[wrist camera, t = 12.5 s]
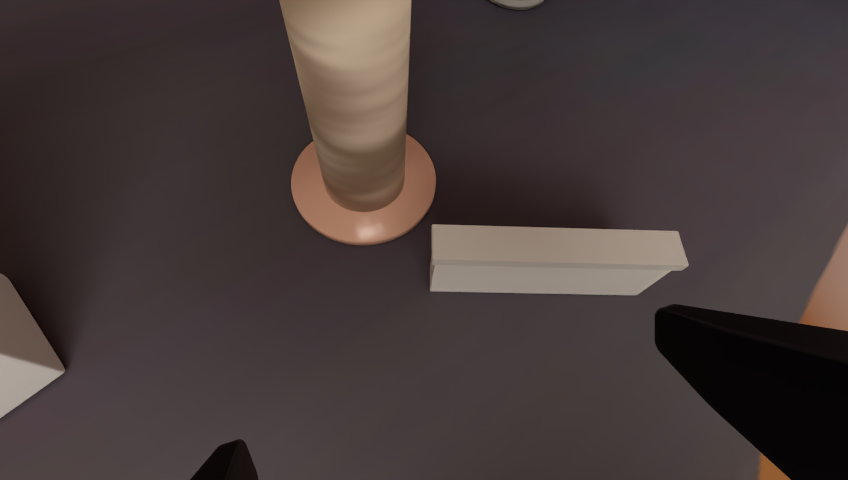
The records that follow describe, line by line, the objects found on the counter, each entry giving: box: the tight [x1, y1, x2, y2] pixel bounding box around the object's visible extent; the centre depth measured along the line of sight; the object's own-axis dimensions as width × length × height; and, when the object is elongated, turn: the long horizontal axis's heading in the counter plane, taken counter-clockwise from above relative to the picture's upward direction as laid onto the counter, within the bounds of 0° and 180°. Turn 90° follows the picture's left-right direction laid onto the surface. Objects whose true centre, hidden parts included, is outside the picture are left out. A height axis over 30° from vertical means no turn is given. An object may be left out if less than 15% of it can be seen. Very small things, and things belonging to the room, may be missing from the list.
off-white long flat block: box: [430, 224, 689, 295], centre depth 23 cm, size 12×2×5 cm, turn 90°
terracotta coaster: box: [291, 134, 436, 246], centre depth 27 cm, size 9×9×1 cm
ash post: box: [279, 0, 411, 212], centre depth 22 cm, size 5×5×12 cm
